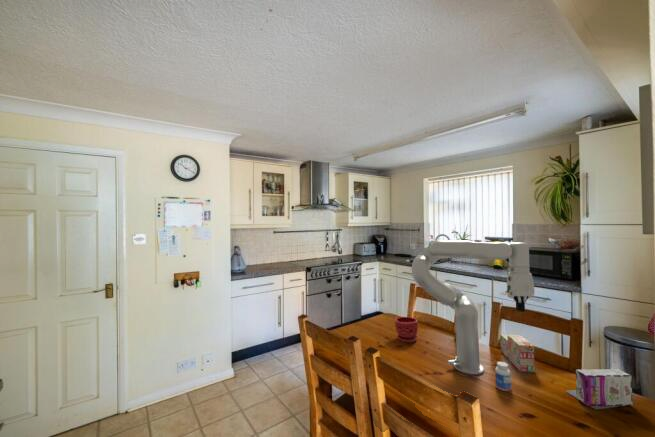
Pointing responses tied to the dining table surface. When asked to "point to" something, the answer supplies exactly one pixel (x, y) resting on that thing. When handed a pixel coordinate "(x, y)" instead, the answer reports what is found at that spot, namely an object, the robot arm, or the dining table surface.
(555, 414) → the dining table surface
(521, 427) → the dining table surface
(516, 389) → the dining table surface
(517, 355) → the printed cardboard carton
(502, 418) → the dining table surface
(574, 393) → the mat
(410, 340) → the plant pot
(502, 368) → the pill bottle
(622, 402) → the candy bar box
